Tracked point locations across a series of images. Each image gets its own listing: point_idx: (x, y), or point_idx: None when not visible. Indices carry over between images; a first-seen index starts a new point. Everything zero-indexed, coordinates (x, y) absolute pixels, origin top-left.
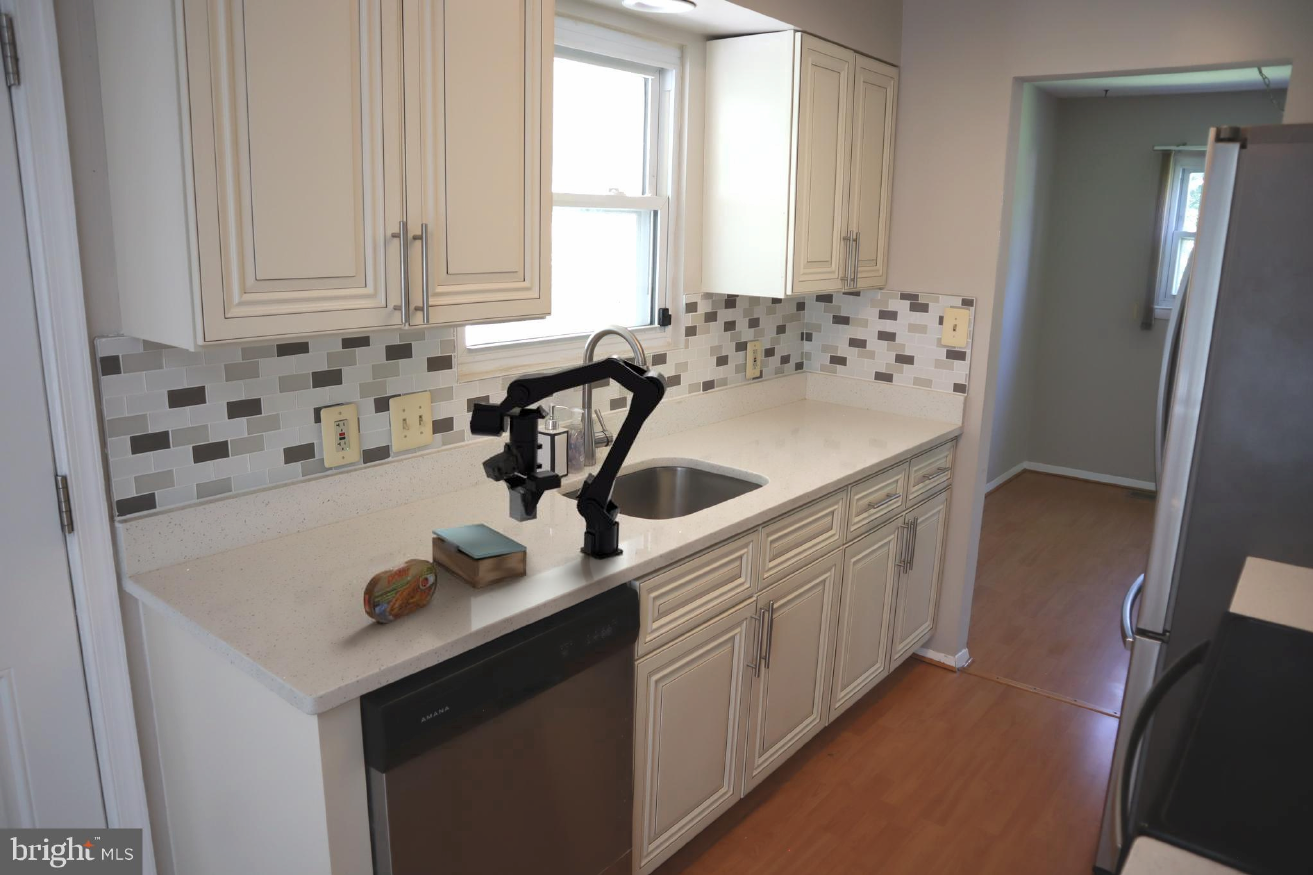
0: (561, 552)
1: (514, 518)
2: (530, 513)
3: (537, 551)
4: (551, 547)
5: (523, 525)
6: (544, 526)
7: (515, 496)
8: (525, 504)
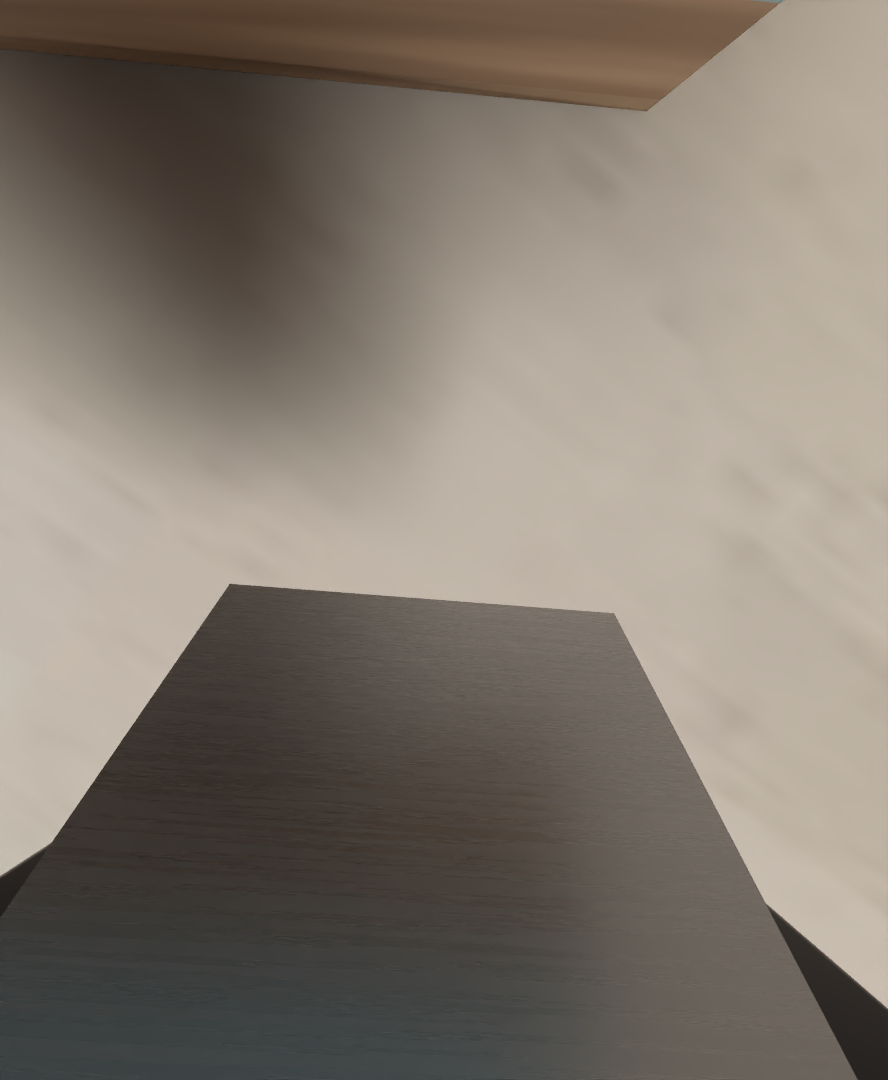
0: (30, 743)
1: (431, 606)
2: None
3: (190, 587)
4: None
5: (864, 904)
6: None
7: (347, 1032)
8: None
